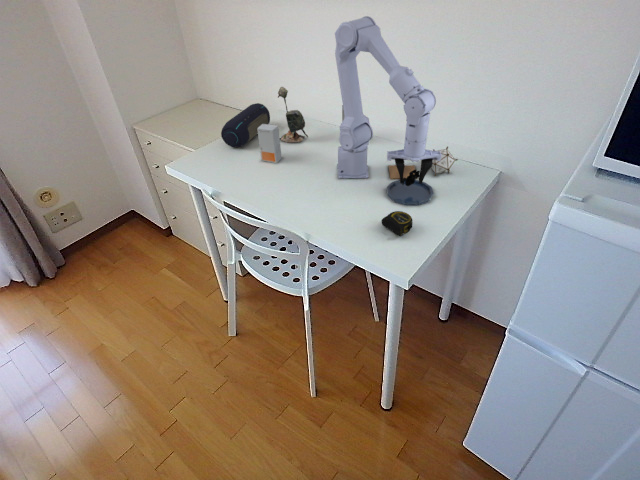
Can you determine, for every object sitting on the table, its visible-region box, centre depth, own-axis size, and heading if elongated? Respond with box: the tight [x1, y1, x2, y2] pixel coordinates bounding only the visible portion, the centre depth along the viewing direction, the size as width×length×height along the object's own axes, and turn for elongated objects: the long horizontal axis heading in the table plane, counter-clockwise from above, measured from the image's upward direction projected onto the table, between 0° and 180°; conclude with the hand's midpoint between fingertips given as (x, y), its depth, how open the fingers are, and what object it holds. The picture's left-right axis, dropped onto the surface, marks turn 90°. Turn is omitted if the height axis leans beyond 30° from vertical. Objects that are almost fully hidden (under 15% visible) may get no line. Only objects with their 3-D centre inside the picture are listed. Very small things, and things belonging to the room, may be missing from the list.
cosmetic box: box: [257, 123, 282, 164], centre depth 135 cm, size 6×4×12 cm
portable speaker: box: [220, 102, 271, 148], centre depth 152 cm, size 25×10×10 cm, turn 159°
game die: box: [430, 146, 459, 177], centre depth 125 cm, size 9×8×10 cm
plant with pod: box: [277, 86, 309, 143], centre depth 145 cm, size 8×11×20 cm
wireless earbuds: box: [402, 168, 420, 186], centre depth 115 cm, size 7×2×5 cm, turn 129°
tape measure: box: [381, 210, 413, 238], centre depth 104 cm, size 7×7×4 cm
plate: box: [386, 179, 434, 207], centre depth 118 cm, size 13×13×1 cm
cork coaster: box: [388, 164, 416, 180], centre depth 128 cm, size 8×8×1 cm
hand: (410, 181), depth 116 cm, fingers closed on wireless earbuds, 5 cm apart
